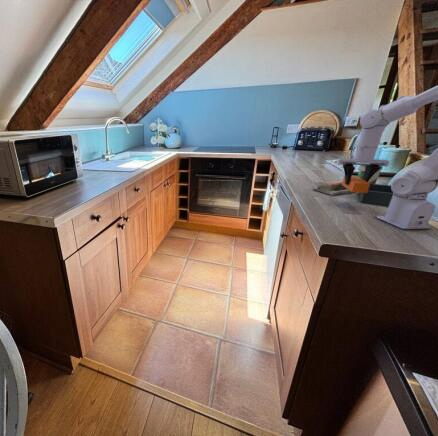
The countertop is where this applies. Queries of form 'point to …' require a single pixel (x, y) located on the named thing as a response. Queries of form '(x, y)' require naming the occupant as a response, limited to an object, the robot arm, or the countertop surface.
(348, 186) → the block
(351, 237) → the countertop surface
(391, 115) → the robot arm
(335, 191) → the packaged product
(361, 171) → the food container
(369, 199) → the dark grey open box
